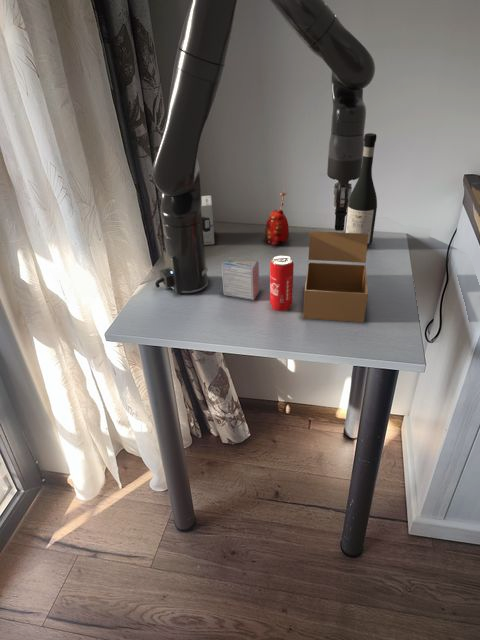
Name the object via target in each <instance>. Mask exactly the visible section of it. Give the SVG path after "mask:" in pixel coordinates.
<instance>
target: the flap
mask: <svg viewBox="0 0 480 640" xmlns="http://www.w3.org/2000/svg"><path fill="white" fill-rule="evenodd" d="M367 244H368V234H361V233H345V232H340V231H336V232H335V231H317V230H316V231H314V230H313V231H311V230H310V231H309V245H308V259H307V260H308V261H323V262H342V263H343V262H344V263H361V264H363V263H364V264H366V260H367V252H368V247H367Z"/></svg>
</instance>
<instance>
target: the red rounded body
mask: <svg viewBox="0 0 480 640" xmlns="http://www.w3.org/2000/svg"><path fill="white" fill-rule="evenodd" d="M286 192H287V189H285V190H284V192H280V197H281V202H280V209H279V210H277V209H274V210H272V212H271V213H270V214H269V217H268V219H267V220H266V225H265V228H264V236H265V239H264V240H265V241H266V242H267V243H268V244H269V245H271V246H275V247H277V246H278V245H284V244H285V243H287V241H288V240H289V237H290V229H289V227H290V226H289V222H288V219H287V217H286V215H285V213H284V210H283V206H284V198H285V195H287V194H288V193H286Z"/></svg>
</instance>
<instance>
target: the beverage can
mask: <svg viewBox="0 0 480 640" xmlns="http://www.w3.org/2000/svg"><path fill="white" fill-rule="evenodd" d="M294 265H295V264H294V261H293V258H292V257H291V256H288V255H283V254H280V255H279V254H278V255H275V256H273V257H272V258H271V260H270V263H269V303H270V306H271V308H272V309H273V310H274V311H277V312H286V311H289V310H290V309H291V306H292V305H293V291H294V267H295V266H294Z"/></svg>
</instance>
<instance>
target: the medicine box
mask: <svg viewBox="0 0 480 640" xmlns="http://www.w3.org/2000/svg"><path fill="white" fill-rule="evenodd" d="M259 267H260V266H259V261H258V260H255V259H250V258H243V257H235V256H227V258H226V259H225V260H224V261H223V262H222V263H221V274H222V275H221V276H222V288H223V289H222V290H223V295H224V296H226V297H227V296H229V297H234V298H241V299H246V300H252V301H254V300H255V299H256V297H257V296H258V294H259V293H260V271H259V270H260V268H259Z"/></svg>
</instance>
